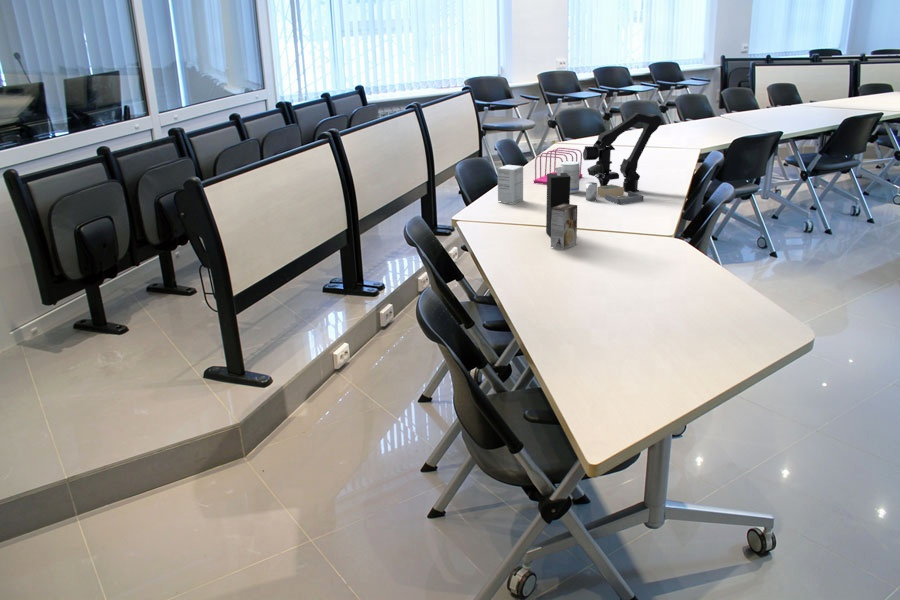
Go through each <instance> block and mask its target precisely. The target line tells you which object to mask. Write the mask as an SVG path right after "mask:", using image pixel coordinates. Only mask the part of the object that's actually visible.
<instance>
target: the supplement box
mask: <svg viewBox="0 0 900 600" xmlns="http://www.w3.org/2000/svg"><path fill="white" fill-rule="evenodd" d="M498 201H501V202H507V203H506V204H508V203H511V204H510V205H515V204H517V202H518V203H520V202H522V201H524V166H523V165H514V164H513V165H512V164H506V165H503V166H500V167H498V168H497V202H498ZM519 201H520V202H519ZM501 202H500V203H501Z"/></svg>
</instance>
